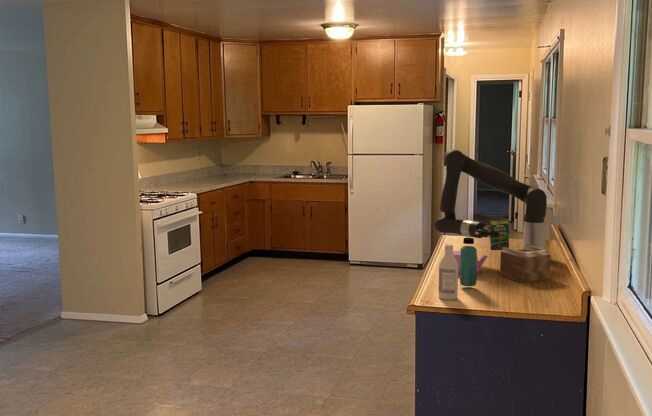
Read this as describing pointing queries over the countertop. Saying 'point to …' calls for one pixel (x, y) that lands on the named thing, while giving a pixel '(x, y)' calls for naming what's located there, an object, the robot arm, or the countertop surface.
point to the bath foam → (448, 275)
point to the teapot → (480, 262)
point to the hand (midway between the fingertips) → (503, 233)
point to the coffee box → (503, 230)
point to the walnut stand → (525, 264)
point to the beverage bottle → (468, 263)
